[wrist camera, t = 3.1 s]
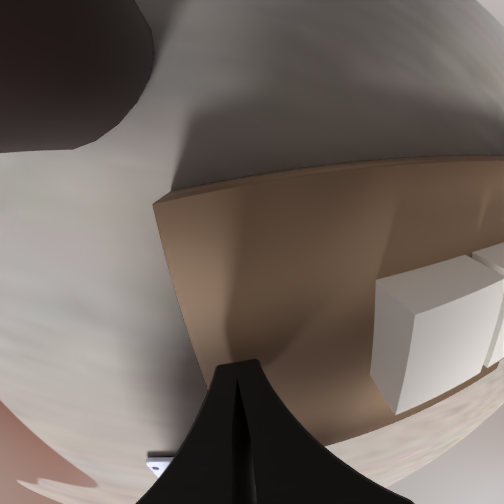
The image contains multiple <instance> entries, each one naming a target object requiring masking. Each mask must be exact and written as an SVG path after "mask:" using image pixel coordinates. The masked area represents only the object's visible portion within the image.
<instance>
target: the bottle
mask: <svg viewBox="0 0 504 504" xmlns="http://www.w3.org/2000/svg"><path fill="white" fill-rule="evenodd" d="M153 56H154V46H153V39H152V31H151V29H150V27H149V25H148V23H147V22H146V20H145V18H144V16H143V14H142V13H141V11H140V9H139V7H138V6H137V4H136V2H135V1H134V0H0V153H7V152H21V151H40V150H69V149H75V148H78V147H80V146H83V145H86V144H88V143H91V142H94V141H96V140H98V139H99V138H100V137H101V136H103V135H104V134H105V133H107V132H108V131H110V130H111V129H112V128H114V127H115V126H117V125H118V124H119V123H120V122H121V121H122V119H123V118H124V117H125V116H126V115H127V113H128V112H129V111H130V110H131V109H132V108H133V106H134V105H135V104H136V103H137V101H138V99H139V97H140V95H141V93H142V91H143V89H144V87H145V85H146V83H147V81H148V79H149V76H150V71H151V66H152V61H153Z"/></svg>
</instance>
